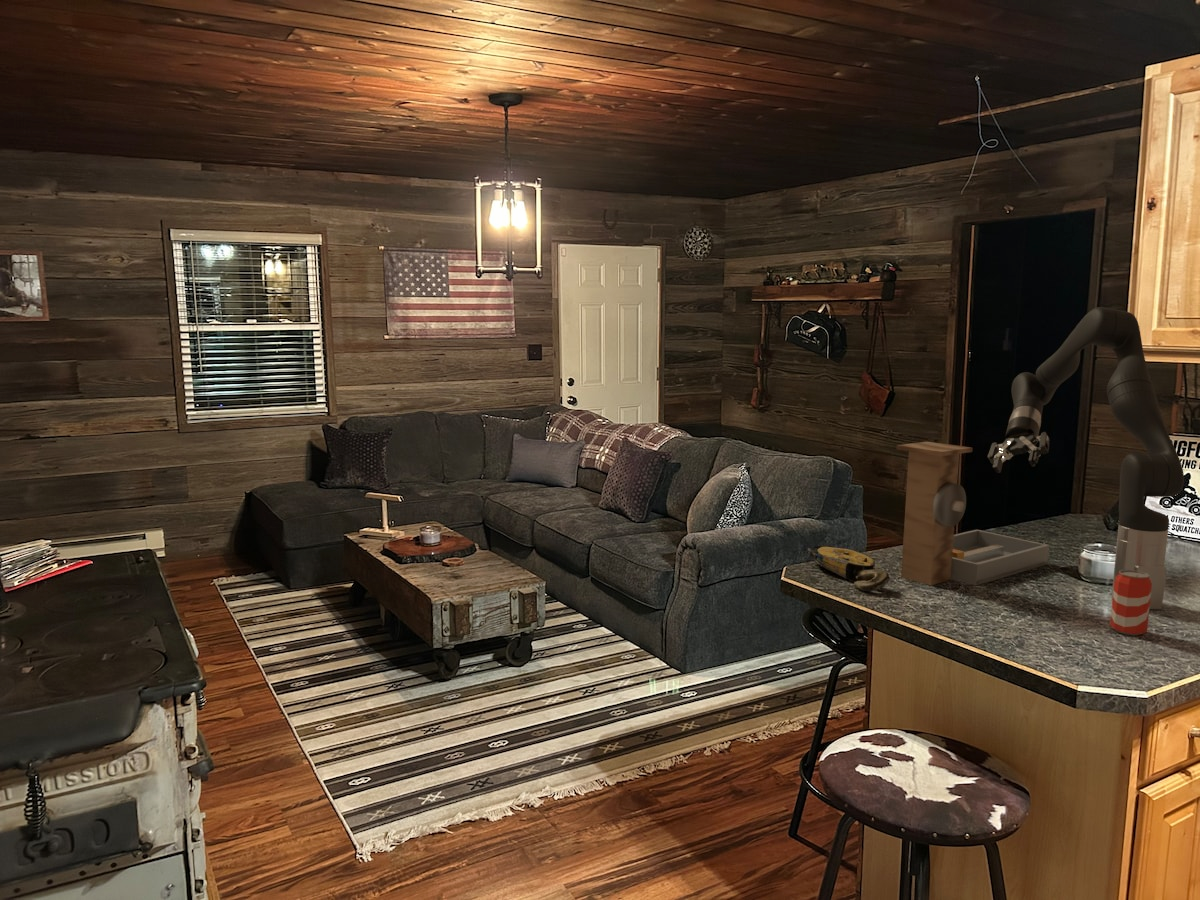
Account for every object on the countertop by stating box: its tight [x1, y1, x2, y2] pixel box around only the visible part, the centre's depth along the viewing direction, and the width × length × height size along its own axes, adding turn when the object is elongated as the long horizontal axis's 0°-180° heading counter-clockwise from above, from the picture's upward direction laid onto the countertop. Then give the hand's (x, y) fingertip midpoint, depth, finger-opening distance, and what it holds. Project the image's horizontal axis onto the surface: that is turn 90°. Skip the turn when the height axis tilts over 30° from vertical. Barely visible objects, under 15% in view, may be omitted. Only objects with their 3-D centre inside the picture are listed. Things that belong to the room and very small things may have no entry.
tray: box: [951, 529, 1050, 586], centre depth 223 cm, size 32×20×5 cm, turn 125°
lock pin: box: [952, 545, 1005, 563], centre depth 223 cm, size 22×4×4 cm, turn 124°
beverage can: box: [1109, 570, 1152, 636], centre depth 175 cm, size 6×6×12 cm
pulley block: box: [807, 545, 891, 592], centre depth 212 cm, size 14×6×30 cm
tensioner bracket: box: [896, 441, 974, 586], centre depth 208 cm, size 12×14×32 cm
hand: (1014, 467), depth 221 cm, fingers open, 8 cm apart
